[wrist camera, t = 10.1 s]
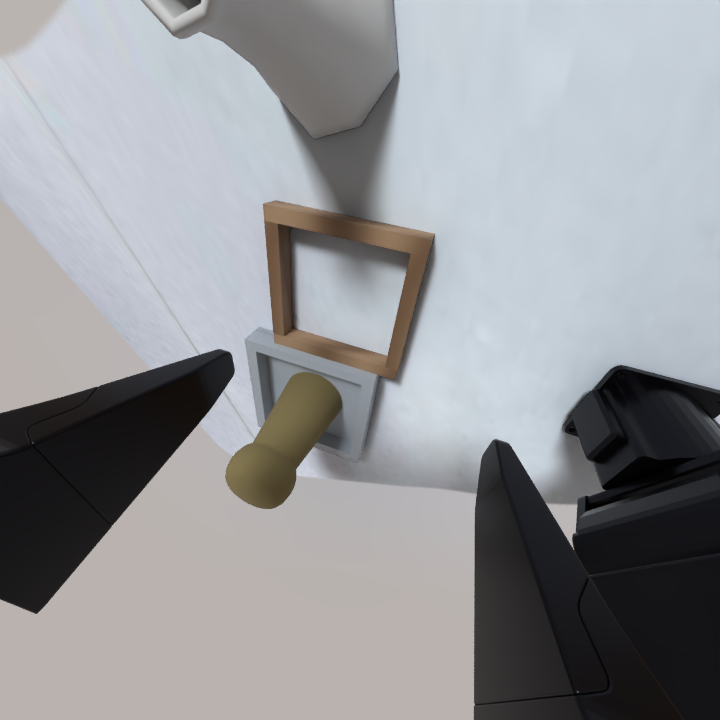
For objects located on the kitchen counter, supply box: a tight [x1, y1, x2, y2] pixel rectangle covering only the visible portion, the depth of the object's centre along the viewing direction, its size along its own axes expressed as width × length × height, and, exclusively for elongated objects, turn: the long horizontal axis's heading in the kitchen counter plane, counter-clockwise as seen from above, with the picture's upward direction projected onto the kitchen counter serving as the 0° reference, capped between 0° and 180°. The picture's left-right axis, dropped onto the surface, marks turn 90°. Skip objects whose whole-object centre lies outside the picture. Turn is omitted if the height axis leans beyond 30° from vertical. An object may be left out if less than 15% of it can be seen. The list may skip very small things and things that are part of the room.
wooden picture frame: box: [263, 201, 434, 380], centre depth 22 cm, size 11×11×2 cm
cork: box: [225, 372, 343, 509], centre depth 25 cm, size 6×6×11 cm
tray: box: [245, 327, 380, 463], centre depth 29 cm, size 12×12×2 cm
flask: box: [141, 0, 398, 139], centre depth 11 cm, size 7×7×10 cm
